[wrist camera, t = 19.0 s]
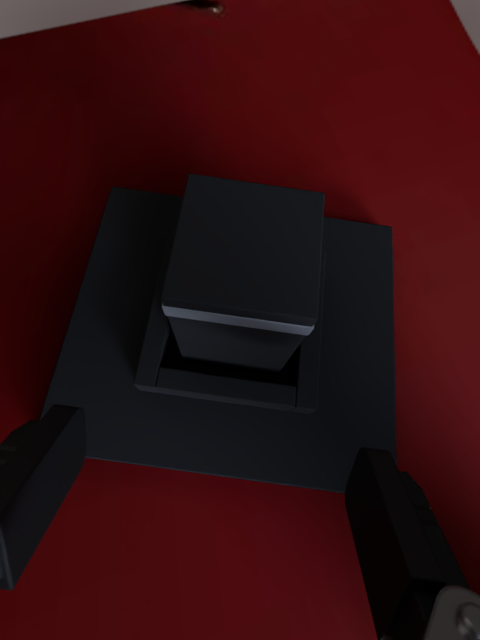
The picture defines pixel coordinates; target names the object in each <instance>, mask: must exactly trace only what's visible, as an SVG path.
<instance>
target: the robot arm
mask: <svg viewBox="0 0 480 640" xmlns="http://www.w3.org/2000/svg"><path fill="white" fill-rule="evenodd" d="M85 455H86V434H85V416H84V410H83V408H81V407H73V406H66V405H59V404H55V405H53V406H52V407H51V408H50V409H49V410H48V411H47V412H46V414H45V415H44V416H43V417H42V418H41V420H40V421H35V420H30V421H28V422H27V423H25V424H23V425H22V426H20V427H19V428H17V429H15V430H14V431H12V432H11V433H10V434H9V436H8V437H7V438H6V439H5V440H4V441H3V442H2V443H1V444H0V589H5V590H13V589H14V587H15V585H16V583H17V581H18V580H19V578H20V576H21V574H22V573H23V571H24V569H25V567H26V566H27V564H28V562H29V560H30V559H31V557H32V555H33V553H34V551H35V550H36V548H37V546H38V544H39V543H40V541H41V539H42V537H43V536H44V534H45V532H46V530H47V529H48V527H49V525H50V523H51V522H52V520H53V518H54V516H55V514H56V513H57V511H58V509H59V507H60V506H61V504H62V502H63V500H64V499H65V497H66V495H67V493H68V492H69V490H70V488H71V486H72V484H73V483H74V481H75V479H76V477H77V476H78V474H79V472H80V470H81V468H82V466H83V463H84V459H85ZM345 504H346V510H347V514H348V518H349V522H350V526H351V530H352V534H353V539H354V543H355V547H356V551H357V555H358V559H359V563H360V567H361V572H362V576H363V580H364V584H365V588H366V592H367V596H368V600H369V605H370V609H371V613H372V617H373V621H374V625H375V629H376V633H377V638H378V640H480V595H478V594H477V593H475V592H473V591H471V589H470V587H469V585H468V584H467V581H466V579H465V577H464V575H463V573H462V571H461V569H460V567H459V565H458V563H457V561H456V559H455V557H454V554H453V552H452V550H451V548H450V546H449V544H448V542H447V540H446V538H445V536H444V534H443V532H442V530H441V528H440V526H438V524H437V523H438V521H437V519H436V517H435V515H434V513H433V511H432V510H430V505H429V503H428V501H427V499H426V496H425V494H424V492H423V490H422V488H421V487H420V486H419V485H418V484H417V483H416V482H415V481H414V479H413V478H412V477H411V476H410V475H409V474H408V473H407V472H401V471H398V469H397V466H396V464H395V462H394V459H393V457H392V455H391V453H390V452H389V451H387V450H380V449H373V448H366V447H361V448H360V449H359V450H358V453H357V456H356V458H355V461H354V464H353V467H352V470H351V473H350V476H349V479H348V481H347V485H346V490H345Z"/></svg>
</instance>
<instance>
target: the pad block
mask: <svg viewBox="0 0 480 640" xmlns="http://www.w3.org/2000/svg"><path fill="white" fill-rule="evenodd" d="M324 200H325V194H324V193H321V192H314V191H307V190H300V189H294V188H287V187H280V186H273V185H266V184H259V183H252V182H245V181H238V180H231V179H224V178H217V177H210V176H203V175H196V174H189V175H188V179H187V183H186V188H185V192H184V196H183V201H182V205H181V210H180V214H179V219H178V223H177V228H176V232H175V236H174V241H173V245H172V250H171V254H170V259H169V263H168V267H167V272H166V276H165V281H164V285H163V290H162V294H161V299H162V309H163V311H164V314H165V315H166V316H168V319H169V322H170V325H171V327H172V330H173V333H174V336H175V338H176V341H177V344H178V347H179V350H180V352H181V355H182V358H183V361H184V362H189V363H196V364H203V365H210V366H217V367H224V368H231V369H238V370H245V371H253V372H260V373H267V374H274V375H278V373H279V372H280V371H281V369H282V368H283V366H284V365H285V364H286V362H287V361H288V360H289V358H290V357H291V355H292V354H293V353H294V351H295V350H296V348H297V347H298V346H299V344H300V343H301V342H302V340H303V339H304V337H305V336H306V335H309V334H310V333H311V331H312V330H313V329H314V324H315V322H316V321H317V318H318V302H319V285H320V268H321V251H322V234H323V217H324Z"/></svg>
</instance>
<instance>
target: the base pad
mask: <svg viewBox="0 0 480 640" xmlns="http://www.w3.org/2000/svg"><path fill="white" fill-rule="evenodd" d="M182 201H183V197H182V196H175V195H168V194H161V193H154V192H147V191H140V190H133V189H126V188H119V187H112V189H111V192H110V195H109V198H108V201H107V204H106V208H105V211H104V214H103V217H102V220H101V224H100V227H99V230H98V233H97V236H96V240H95V243H94V246H93V249H92V252H91V256H90V259H89V262H88V265H87V268H86V272H85V275H84V278H83V281H82V284H81V288H80V291H79V294H78V297H77V300H76V304H75V307H74V310H73V313H72V316H71V320H70V323H69V326H68V329H67V332H66V335H65V339H64V342H63V345H62V348H61V351H60V355H59V358H58V361H57V364H56V367H55V371H54V374H53V377H52V380H51V383H50V387H49V390H48V393H47V396H46V399H45V403H44V406H43V409H42V412H41V415H40V419H39V421H40V420H41V418H42V417H43V416H44V415H45V414H46V412H47V411H48V410H49V409H50V408H51V407H52V406H53V405H55V404H59V405H66V406H73V407H81V408H83V410H84V416H85V434H86V455H85V457H86V458H94V459H101V460H108V461H115V462H123V463H130V464H137V465H144V466H151V467H159V468H166V469H173V470H180V471H188V472H195V473H202V474H209V475H216V476H224V477H231V478H238V479H245V480H252V481H260V482H267V483H274V484H281V485H289V486H296V487H303V488H310V489H317V490H325V491H332V492H339V493H345V490H346V485H347V481H348V479H349V476H350V473H351V470H352V467H353V464H354V461H355V458H356V456H357V453H358V450H359V449H360V448H361V447H366V448H373V449H380V450H387V451H389V452H390V453H391V455H392V457H393V459H394V462H395V464H396V466H397V458H396V406H395V353H394V301H393V248H392V227H390V226H383V225H376V224H370V223H363V222H356V221H349V220H342V219H335V218H328V217H323V234H322V251H321V268H320V285H319V302H318V318H317V321H316V322H315V324H314V329H313V330H312V331H311V333H310V334H309V335H306V336H305V337H304V339H303V340H302V342H301V343H300V344H299V346H298V347H297V348H296V350H295V351H294V353H293V354H292V355H291V357H290V358H289V360H288V361H287V362H286V364H285V365H284V366H283V368H282V369H281V371H280V372H279V373H278V375H274V374H267V373H260V372H253V371H245V370H238V369H231V368H224V367H217V366H210V365H203V364H196V363H189V362H184V361H183V358H182V355H181V352H180V350H179V347H178V344H177V341H176V338H175V336H174V333H173V330H172V327H171V325H170V322H169V319H168V316H166V315H165V314H164V311H163V309H162V299H161V294H162V290H163V285H164V281H165V276H166V272H167V267H168V263H169V259H170V254H171V250H172V245H173V241H174V236H175V232H176V228H177V223H178V219H179V214H180V210H181V205H182Z"/></svg>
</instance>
